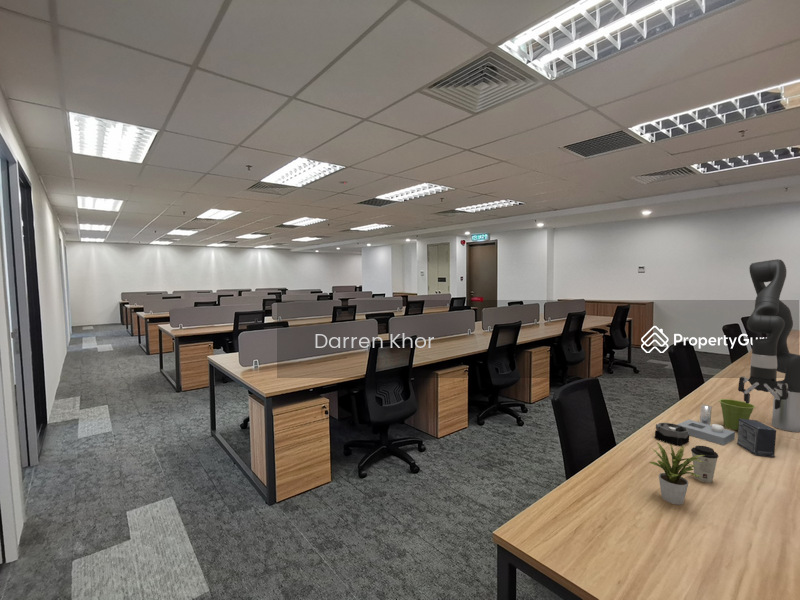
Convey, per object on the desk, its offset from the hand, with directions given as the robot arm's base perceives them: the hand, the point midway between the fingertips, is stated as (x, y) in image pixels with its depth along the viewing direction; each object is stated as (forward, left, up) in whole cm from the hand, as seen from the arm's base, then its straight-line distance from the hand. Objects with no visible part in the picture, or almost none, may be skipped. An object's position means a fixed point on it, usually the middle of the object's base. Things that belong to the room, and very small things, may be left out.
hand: (761, 405), depth 150 cm
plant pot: (-11, -11, -15) cm, 21 cm away
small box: (+11, +1, -15) cm, 19 cm away
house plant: (+77, 0, -15) cm, 79 cm away
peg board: (+10, -15, -15) cm, 23 cm away
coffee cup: (+54, -1, -15) cm, 56 cm away
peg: (+1, -18, -15) cm, 23 cm away
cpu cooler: (+28, -20, -15) cm, 38 cm away
